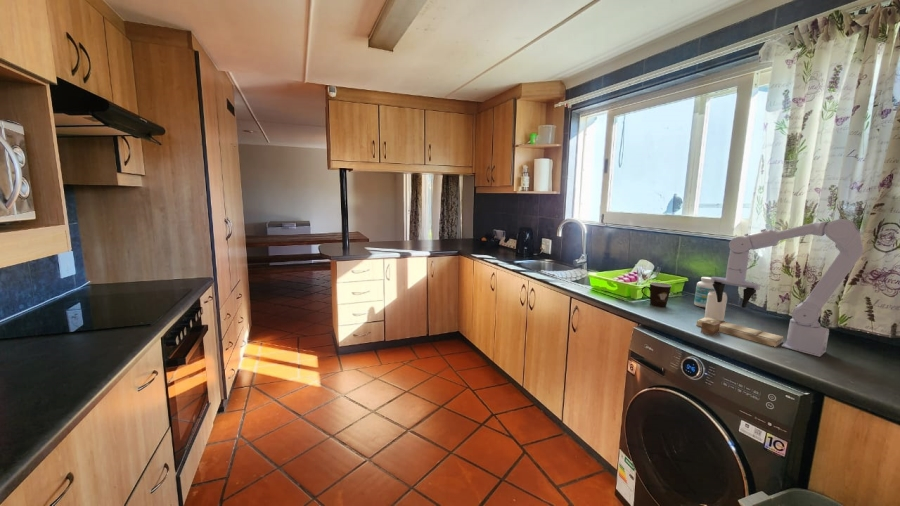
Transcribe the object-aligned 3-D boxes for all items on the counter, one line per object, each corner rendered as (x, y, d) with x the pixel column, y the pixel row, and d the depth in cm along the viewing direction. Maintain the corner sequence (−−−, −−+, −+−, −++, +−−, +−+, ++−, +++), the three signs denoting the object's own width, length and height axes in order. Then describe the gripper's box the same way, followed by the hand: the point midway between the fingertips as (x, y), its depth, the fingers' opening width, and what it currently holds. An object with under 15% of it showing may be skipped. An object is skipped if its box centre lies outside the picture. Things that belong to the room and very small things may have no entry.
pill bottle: (690, 304, 171) (693, 276, 169) (701, 303, 173) (705, 275, 171) (705, 308, 164) (709, 280, 162) (717, 307, 166) (721, 279, 164)
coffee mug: (669, 304, 169) (671, 284, 167) (668, 309, 162) (671, 287, 160) (641, 300, 175) (643, 280, 174) (639, 304, 168) (641, 284, 166)
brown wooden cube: (718, 333, 135) (720, 322, 134) (713, 335, 132) (714, 324, 131) (706, 329, 138) (707, 319, 137) (700, 332, 135) (702, 321, 134)
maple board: (782, 342, 127) (783, 336, 127) (775, 347, 123) (776, 340, 122) (705, 321, 146) (705, 316, 146) (696, 325, 142) (697, 320, 142)
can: (726, 323, 145) (731, 294, 143) (708, 321, 146) (713, 293, 145) (718, 318, 151) (722, 290, 150) (701, 316, 153) (705, 289, 151)
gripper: (765, 271, 129) (759, 307, 132) (718, 264, 141) (713, 298, 143) (758, 273, 125) (752, 311, 128) (710, 266, 137) (705, 300, 139)
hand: (731, 304), depth 135 cm, fingers open, 7 cm apart
